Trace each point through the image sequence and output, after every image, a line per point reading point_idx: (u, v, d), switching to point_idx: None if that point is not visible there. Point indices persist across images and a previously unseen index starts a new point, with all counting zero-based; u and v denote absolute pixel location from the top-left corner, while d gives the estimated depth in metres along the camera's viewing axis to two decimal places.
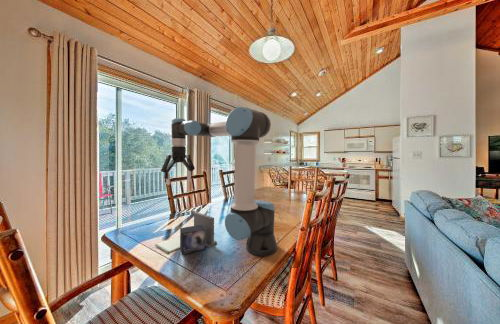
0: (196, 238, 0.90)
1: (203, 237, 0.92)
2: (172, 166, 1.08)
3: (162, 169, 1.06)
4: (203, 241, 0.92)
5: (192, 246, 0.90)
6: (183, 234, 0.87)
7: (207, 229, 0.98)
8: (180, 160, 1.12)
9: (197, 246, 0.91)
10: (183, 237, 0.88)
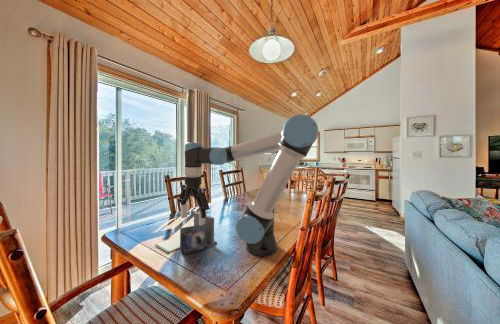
0: (196, 238, 0.90)
1: (203, 237, 0.92)
2: (184, 198, 0.93)
3: None
4: (203, 241, 0.92)
5: (192, 246, 0.90)
6: (183, 234, 0.87)
7: (207, 229, 0.98)
8: (191, 193, 0.90)
9: (197, 246, 0.91)
10: (183, 237, 0.88)
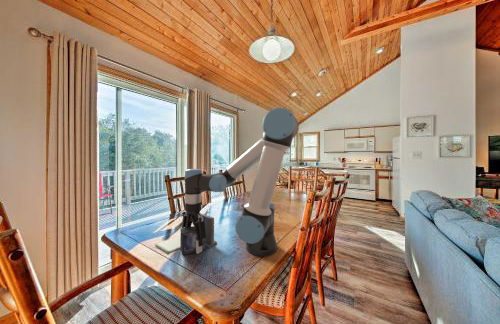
0: None
1: None
2: (187, 226, 0.93)
3: None
4: (204, 241, 0.92)
5: (193, 246, 0.89)
6: (184, 234, 0.87)
7: (207, 229, 0.98)
8: None
9: None
10: (184, 237, 0.87)
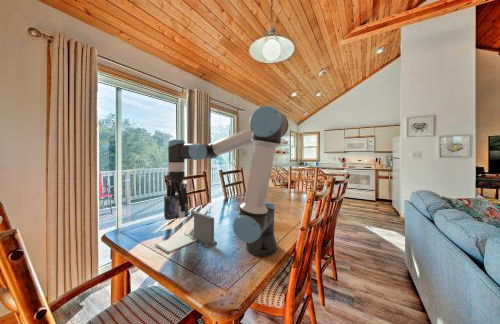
0: None
1: (186, 204, 0.98)
2: (171, 194, 0.99)
3: None
4: (186, 208, 0.98)
5: (176, 212, 0.95)
6: (167, 200, 0.93)
7: (207, 229, 0.98)
8: (175, 187, 0.96)
9: None
10: (167, 203, 0.93)
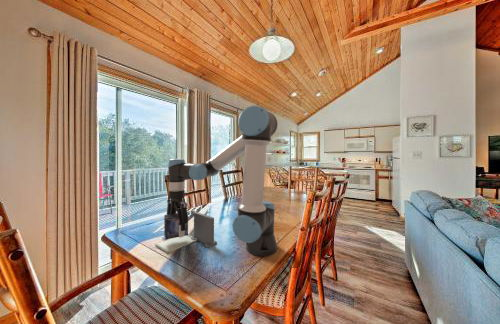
0: None
1: (186, 223, 0.98)
2: (171, 212, 0.99)
3: None
4: (186, 226, 0.98)
5: (176, 231, 0.96)
6: (167, 219, 0.93)
7: (207, 229, 0.98)
8: (175, 206, 0.97)
9: None
10: (167, 222, 0.93)
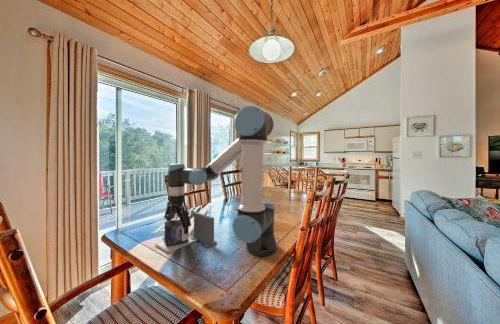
0: (180, 231, 0.96)
1: None
2: (169, 215, 1.00)
3: (168, 215, 1.05)
4: None
5: (176, 238, 0.96)
6: (168, 227, 0.93)
7: (207, 229, 0.98)
8: (175, 211, 0.97)
9: (181, 238, 0.97)
10: (168, 230, 0.93)
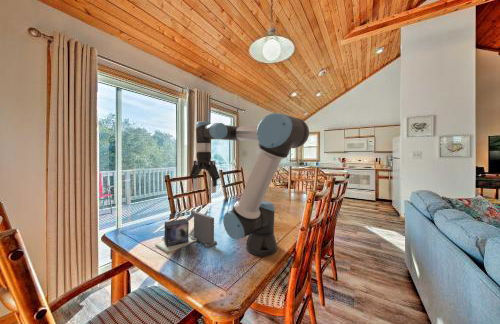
0: (180, 231, 0.96)
1: (187, 230, 0.98)
2: (196, 172, 1.06)
3: None
4: (187, 233, 0.99)
5: (176, 238, 0.96)
6: (168, 227, 0.93)
7: (207, 229, 0.98)
8: (202, 167, 1.03)
9: (181, 238, 0.97)
10: (168, 230, 0.93)
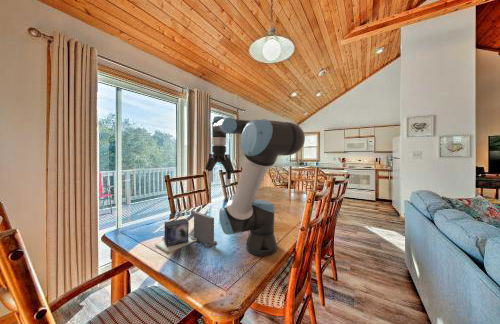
0: (180, 231, 0.96)
1: (187, 230, 0.98)
2: (211, 165, 1.11)
3: (208, 167, 1.15)
4: (187, 233, 0.99)
5: (176, 238, 0.96)
6: (168, 227, 0.93)
7: (207, 229, 0.98)
8: (218, 160, 1.07)
9: (181, 238, 0.97)
10: (168, 230, 0.93)
